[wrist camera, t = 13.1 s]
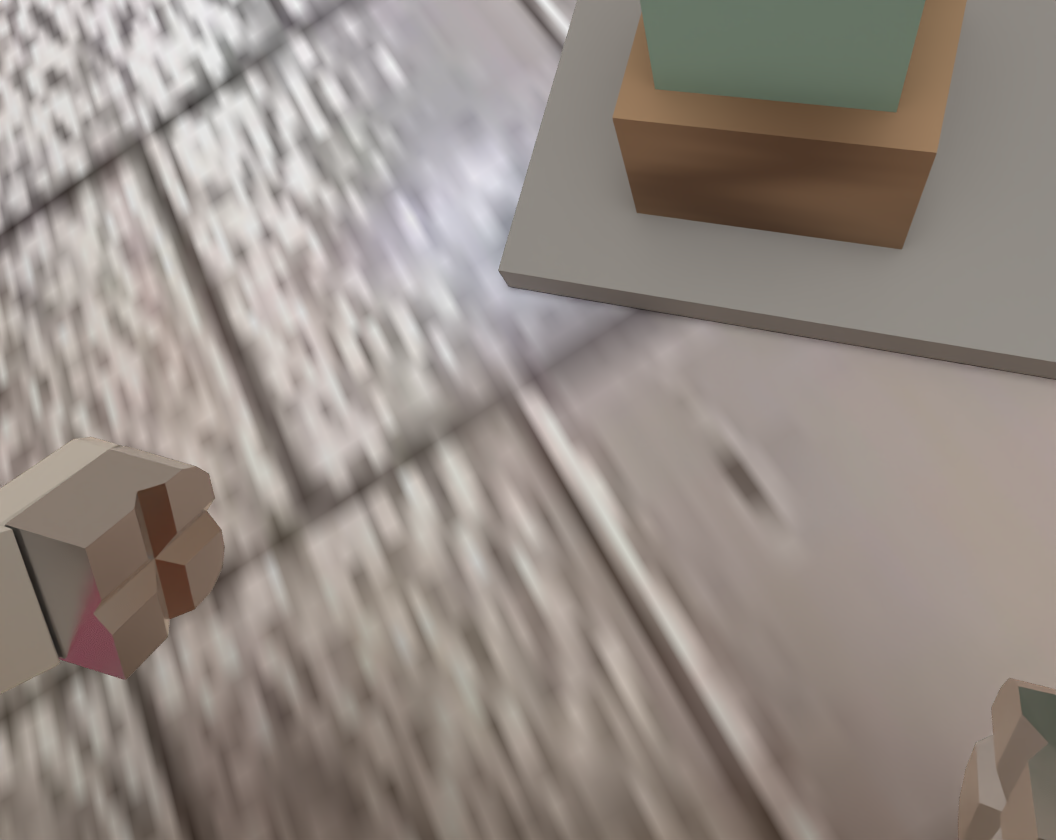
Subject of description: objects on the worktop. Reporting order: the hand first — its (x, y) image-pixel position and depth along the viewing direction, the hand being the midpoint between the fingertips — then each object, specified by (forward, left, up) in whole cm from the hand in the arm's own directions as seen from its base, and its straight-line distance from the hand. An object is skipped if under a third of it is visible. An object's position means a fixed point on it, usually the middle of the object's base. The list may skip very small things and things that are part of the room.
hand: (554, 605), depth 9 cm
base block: (0, +12, -10) cm, 16 cm away
